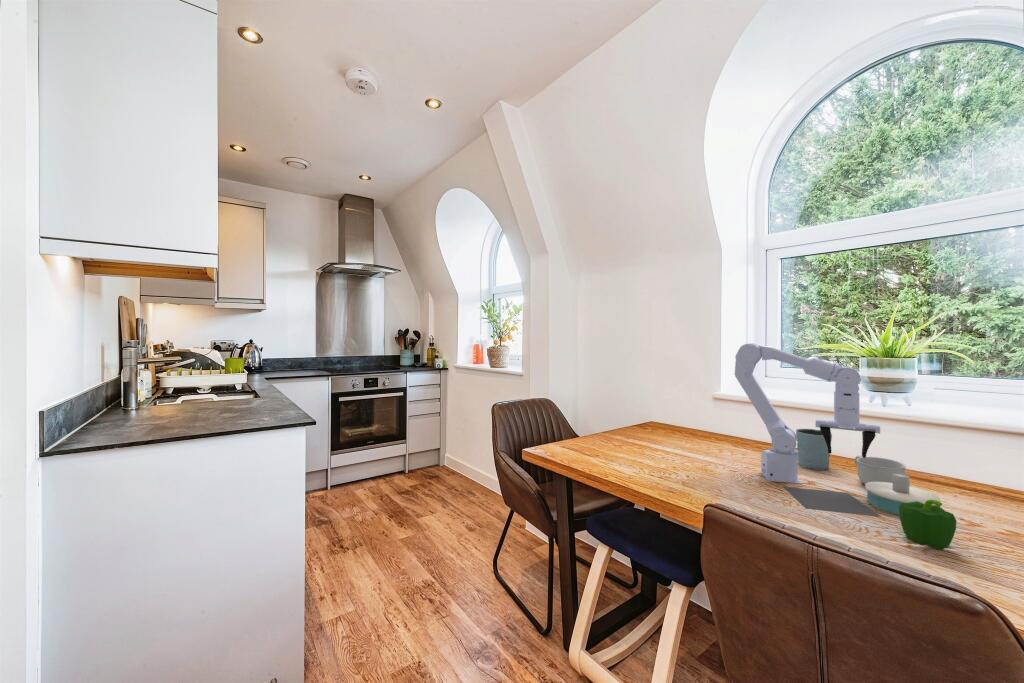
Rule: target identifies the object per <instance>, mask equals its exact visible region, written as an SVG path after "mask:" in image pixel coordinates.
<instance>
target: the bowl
mask: <svg viewBox="0 0 1024 683" xmlns="http://www.w3.org/2000/svg"><path fill="white" fill-rule="evenodd" d="M866 493H867V494H866V497H867V498H866V502H868V503H869V504H870V505H872V506H874V508H876V509H877V510H880V511H883V512H887V513H891V514H895V515H898V516H899V506H900V505H901V503H903V502H899V501H894V500H890V499H887V498H883V497H880V496H877V495H875V494H873V493H870V492H869V491H867V490H866ZM936 506H937V505H936Z"/></svg>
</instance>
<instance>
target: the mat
mask: <svg viewBox="0 0 1024 683" xmlns="http://www.w3.org/2000/svg"><path fill="white" fill-rule="evenodd" d="M783 488H784V489H785V491H787V492H788V493H789V494H790V495H791V496H792V497H793V498H794V499H795V500H796V501H798V503H799V504H800V505H802V507H804V509H807V510H817V511H825V512H835V513H843V514H852V515H860V516H861V515H862V516H871V517H881V518H882V516H881V515H880V514H878V513H877V512H876V511H874V510H873V509H872V508H870V507H869V506H867V505H866V504H864V503H863V502H862V501H860V500H859V499H857V498H856V497H854V496H853V495H852V494H850V493H848V492H842V491H841V492H840V491H831V490H821V489H813V488H801V487H790V486H783Z"/></svg>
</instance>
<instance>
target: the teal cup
mask: <svg viewBox="0 0 1024 683" xmlns="http://www.w3.org/2000/svg"><path fill="white" fill-rule="evenodd" d="M795 434H796V436H797V441H796V448H797V449H796V450H797V451H798V466H801V467H803V466H804V467H803V468H807V467H808V469H811V468H813V469H812V470H818V469H822V470H824V469H827V470H829V468H830V457H831V453H828V447H827V444H826V441H825V439H824V436H823V434H822V433H821V431H820V429H814V428H797V429H796V430H795ZM832 437H833V433H831V441H832ZM822 470H821V471H822Z"/></svg>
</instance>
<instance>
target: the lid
mask: <svg viewBox="0 0 1024 683" xmlns="http://www.w3.org/2000/svg"><path fill="white" fill-rule="evenodd" d="M910 479H911V478H910V476H909V475H907V474H905V475H902V474H893V480H892V483H888V482H868V483H866V484H864V488H865V490H866V492H867V491H869V492H870V493H873V494H875V495H877V496H880V497H883V498H887V499H890V500H894V501H899V502H903V503H910V502H915V501H918V502H921V503H923V504H925V502H926V501H927V500H937V501H939V502H941V498H940V497H939V496H938V495H936V494H935V493H933V492H930V491H927V490H925V489H923V488H917V487H914V486H911V485H910V483H911V482H910V481H911V480H910ZM932 505H935V504H932Z"/></svg>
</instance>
